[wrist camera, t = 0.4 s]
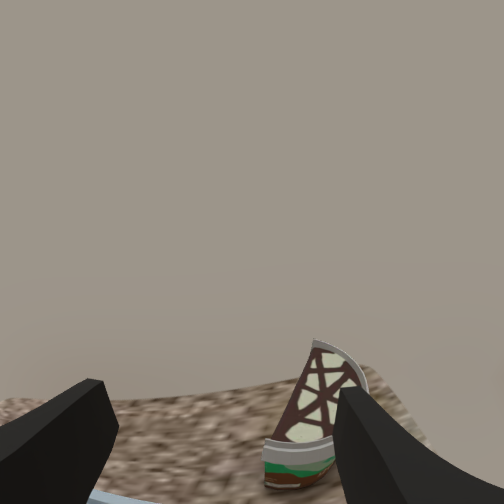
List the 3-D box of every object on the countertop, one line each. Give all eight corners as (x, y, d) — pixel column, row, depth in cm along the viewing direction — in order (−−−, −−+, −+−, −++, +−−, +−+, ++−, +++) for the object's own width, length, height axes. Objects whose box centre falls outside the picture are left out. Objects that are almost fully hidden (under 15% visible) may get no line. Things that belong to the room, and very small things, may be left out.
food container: (326, 518, 18) (359, 470, 14) (257, 499, 20) (261, 445, 16) (357, 418, 28) (382, 348, 24) (302, 405, 31) (314, 334, 27)
